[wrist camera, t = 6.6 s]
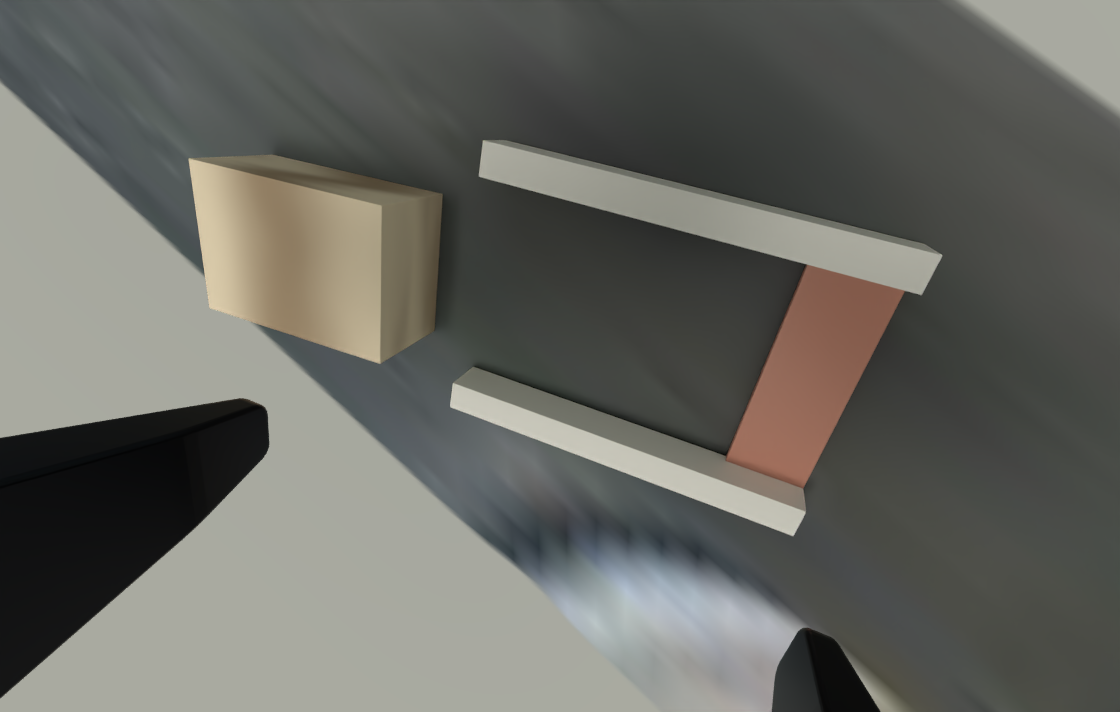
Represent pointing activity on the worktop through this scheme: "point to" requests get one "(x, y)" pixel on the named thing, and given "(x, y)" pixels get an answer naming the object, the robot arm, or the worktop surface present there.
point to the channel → (788, 373)
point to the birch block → (319, 251)
